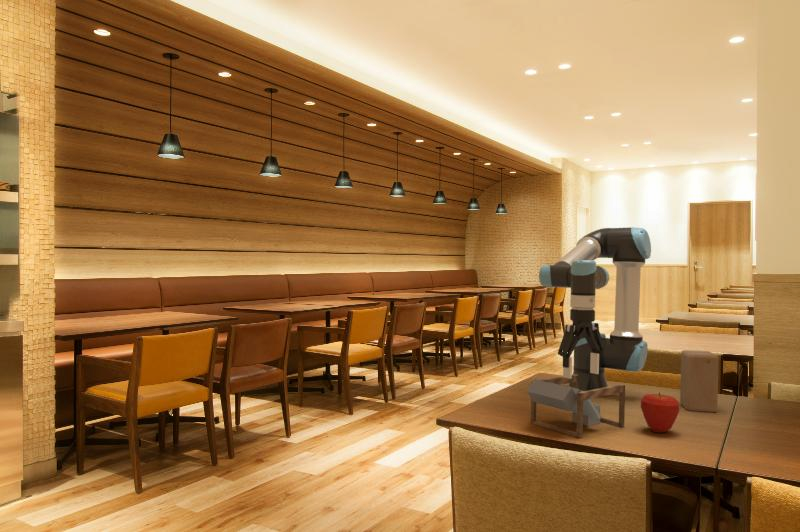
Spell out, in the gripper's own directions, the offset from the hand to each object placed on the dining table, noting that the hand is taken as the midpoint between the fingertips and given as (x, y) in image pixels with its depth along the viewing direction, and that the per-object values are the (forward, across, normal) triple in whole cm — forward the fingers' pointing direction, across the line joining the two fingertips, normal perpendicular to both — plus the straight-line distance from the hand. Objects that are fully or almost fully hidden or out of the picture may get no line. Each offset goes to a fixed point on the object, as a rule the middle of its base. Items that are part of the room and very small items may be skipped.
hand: (581, 375), depth 185 cm
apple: (+16, +14, -18) cm, 28 cm away
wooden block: (+16, +53, -10) cm, 56 cm away
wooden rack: (+15, -2, 0) cm, 15 cm away
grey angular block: (+11, -12, 0) cm, 16 cm away
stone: (+12, 0, 0) cm, 13 cm away
